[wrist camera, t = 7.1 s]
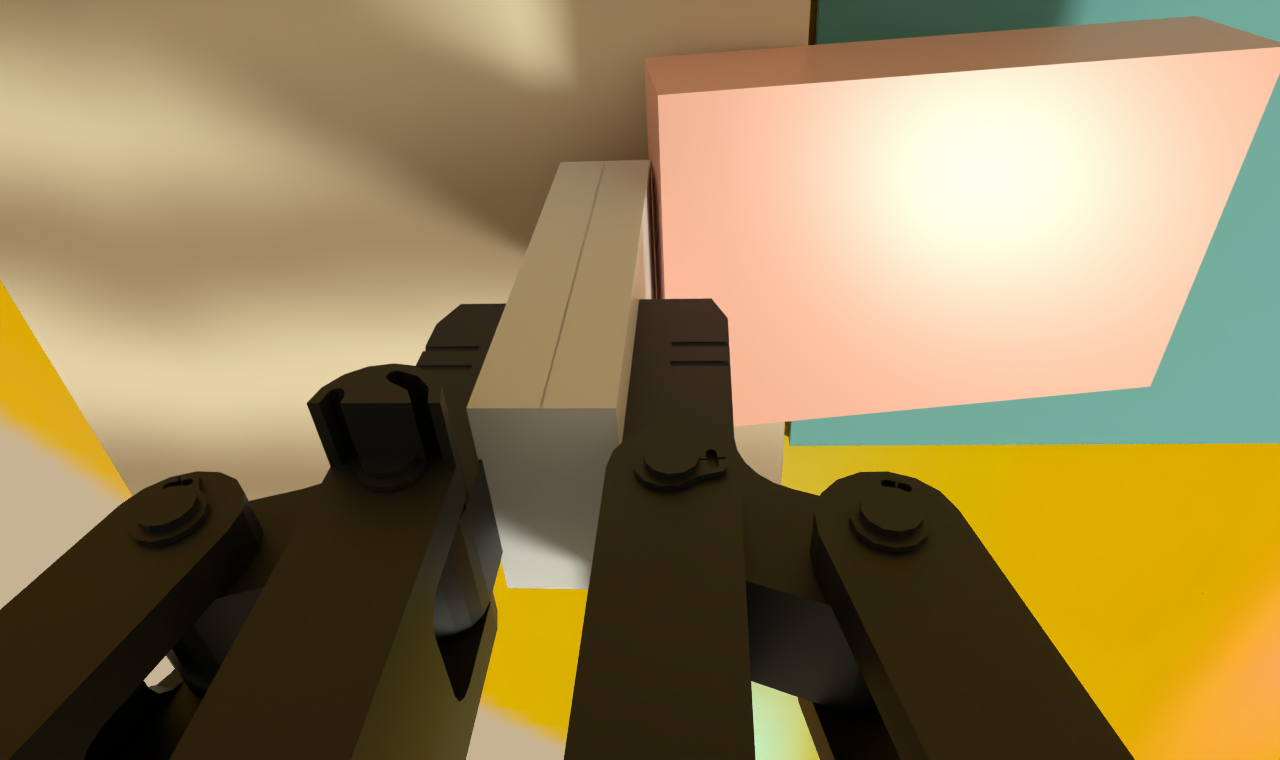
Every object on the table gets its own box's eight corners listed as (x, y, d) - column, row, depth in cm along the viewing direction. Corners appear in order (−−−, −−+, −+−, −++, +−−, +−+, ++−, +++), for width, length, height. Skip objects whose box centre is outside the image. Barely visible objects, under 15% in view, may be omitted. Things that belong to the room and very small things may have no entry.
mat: (842, -381, 12) (845, -384, 12) (1909, -480, 11) (1937, -487, 10) (788, 438, 21) (789, 445, 21) (1348, 434, 20) (1356, 442, 20)
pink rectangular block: (657, 369, 16) (669, 433, 14) (643, 57, 12) (657, 95, 11) (1090, 329, 16) (1150, 386, 15) (1197, 15, 13) (1291, 46, 11)
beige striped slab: (-206, -369, 13) (-420, -407, 10) (813, -474, 11) (844, -548, 9) (218, 467, 23) (163, 545, 21) (768, 465, 22) (777, 548, 19)
